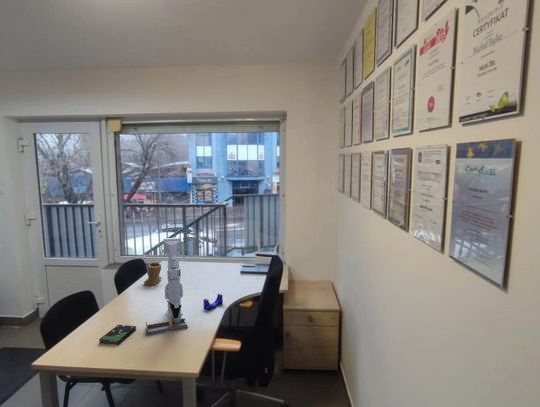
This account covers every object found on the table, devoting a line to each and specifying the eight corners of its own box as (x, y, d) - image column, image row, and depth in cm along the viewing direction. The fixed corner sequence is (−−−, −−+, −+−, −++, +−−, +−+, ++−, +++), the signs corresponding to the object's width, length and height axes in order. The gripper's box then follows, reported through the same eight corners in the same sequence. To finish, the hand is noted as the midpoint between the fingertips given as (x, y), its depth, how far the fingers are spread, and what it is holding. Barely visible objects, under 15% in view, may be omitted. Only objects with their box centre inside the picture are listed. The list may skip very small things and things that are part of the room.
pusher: (168, 323, 169) (168, 314, 169) (170, 323, 169) (170, 314, 169) (170, 328, 164) (169, 319, 163) (172, 328, 164) (171, 319, 163)
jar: (171, 319, 169) (171, 306, 169) (181, 318, 171) (180, 305, 170) (171, 323, 164) (170, 310, 164) (181, 322, 166) (180, 309, 165)
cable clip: (208, 311, 187) (207, 301, 186) (203, 308, 190) (203, 299, 189) (224, 304, 195) (223, 295, 195) (219, 302, 198) (219, 293, 198)
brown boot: (157, 286, 227) (157, 266, 225) (141, 286, 227) (140, 265, 226) (166, 279, 242) (165, 260, 240) (150, 278, 242) (150, 259, 241)
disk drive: (118, 329, 166) (99, 344, 151) (117, 324, 165) (98, 338, 151) (136, 331, 164) (118, 346, 149) (136, 325, 164) (118, 340, 149)
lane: (145, 328, 165) (145, 322, 165) (185, 321, 174) (185, 315, 173) (146, 336, 158) (145, 329, 157) (187, 327, 166) (187, 321, 166)
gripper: (165, 287, 171) (165, 311, 172) (168, 297, 157) (168, 323, 159) (178, 285, 173) (179, 309, 175) (182, 295, 160) (183, 320, 162)
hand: (175, 315), depth 167 cm, fingers closed on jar, 5 cm apart
